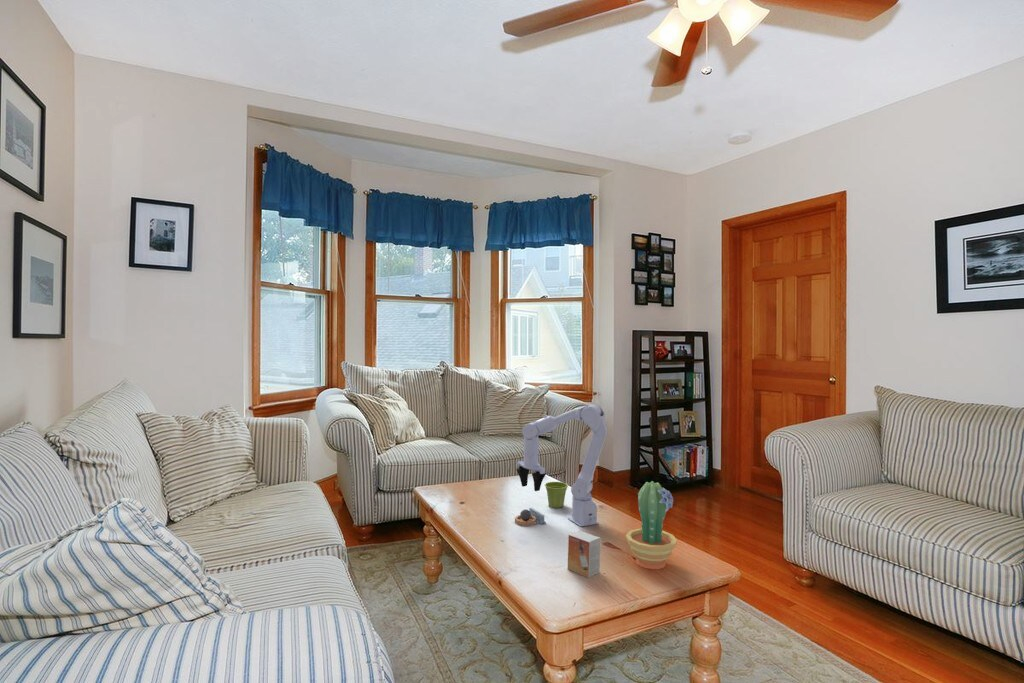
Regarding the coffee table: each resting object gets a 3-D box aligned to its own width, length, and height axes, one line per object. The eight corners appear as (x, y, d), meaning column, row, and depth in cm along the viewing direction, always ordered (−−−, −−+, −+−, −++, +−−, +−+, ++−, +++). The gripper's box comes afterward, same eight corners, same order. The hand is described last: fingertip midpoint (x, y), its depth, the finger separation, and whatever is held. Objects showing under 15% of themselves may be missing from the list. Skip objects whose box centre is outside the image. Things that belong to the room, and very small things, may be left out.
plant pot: (568, 509, 213) (568, 488, 213) (545, 509, 213) (545, 487, 213) (566, 502, 222) (567, 481, 222) (544, 502, 222) (544, 481, 222)
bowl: (539, 523, 197) (539, 520, 197) (521, 526, 193) (521, 523, 193) (529, 517, 204) (529, 513, 204) (512, 520, 200) (512, 516, 200)
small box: (567, 569, 159) (567, 534, 159) (578, 563, 163) (579, 529, 163) (588, 578, 153) (589, 542, 153) (600, 572, 157) (600, 537, 157)
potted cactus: (641, 576, 154) (642, 491, 154) (616, 555, 169) (617, 477, 169) (687, 570, 159) (688, 487, 158) (659, 550, 174) (660, 474, 173)
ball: (533, 520, 199) (533, 509, 199) (526, 523, 196) (526, 512, 196) (524, 517, 201) (525, 507, 201) (517, 520, 198) (518, 509, 198)
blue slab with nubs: (546, 523, 197) (546, 515, 197) (540, 524, 196) (540, 516, 196) (533, 515, 206) (533, 507, 206) (527, 515, 205) (527, 508, 205)
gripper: (551, 455, 204) (550, 490, 205) (526, 449, 216) (526, 482, 216) (537, 458, 200) (537, 494, 200) (513, 451, 211) (513, 485, 211)
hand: (530, 488), depth 208 cm, fingers open, 7 cm apart
